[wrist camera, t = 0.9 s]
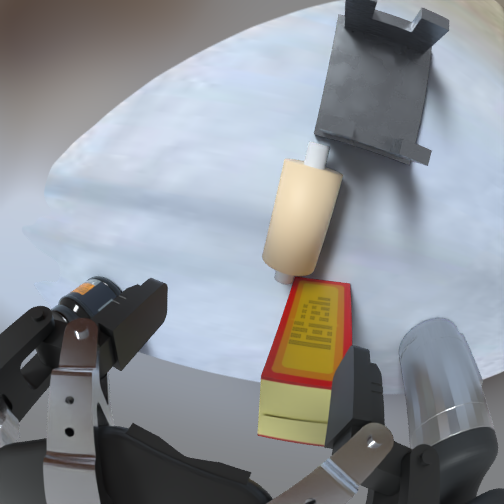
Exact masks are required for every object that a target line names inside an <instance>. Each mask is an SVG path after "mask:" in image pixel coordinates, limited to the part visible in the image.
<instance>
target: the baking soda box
mask: <svg viewBox="0 0 504 504" xmlns="http://www.w3.org/2000/svg"><path fill="white" fill-rule="evenodd" d="M351 345H352V313H351V291H350V284H349V283H341V282H333V281H325V280H318V279H310V278H303V277H295V278H294V281H293V285H292V288H291V291H290V294H289V297H288V300H287V303H286V306H285V309H284V312H283V315H282V318H281V321H280V324H279V327H278V330H277V333H276V336H275V339H274V341H273V344H272V347H271V350H270V353H269V356H268V358H267V361H266V364H265V367H264V369H263V372H262V375H261V388H260V404H259V421H258V436H262V437H267V438H272V439H277V440H282V441H288V442H294V443H300V444H307V445H315V446H324V445H325V438H326V431H327V424H328V416H329V408H330V399H331V389H332V380H333V377H334V374H335V371H336V369H337V368H338V366H339V364H340V363H341V361H342V359H343V358H344V356H345V354H346V352H347V351H348V349H349V347H350V346H351Z"/></svg>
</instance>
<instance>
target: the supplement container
mask: <svg viewBox="0 0 504 504" xmlns="http://www.w3.org/2000/svg"><path fill="white" fill-rule="evenodd" d="M120 294H121V291H120V290H119V289H118V288H117V287H116V286H115V285H114V284H113V283H112V282H111V281H109V280H108V279H106V278H104V277H100V276H95V277H92V278H90V279H88V280H87V281H86V282H85V283H83V284H82V285H80V286H79V287H78V288H76V289H75V290H73V291H72V292H70V293H69V294H68V295H66V296H63V297H62V298H61V299H60V301H59V303H58V305H57V306H55V307H54V308H52V309H51V312H52V314H53V318H54V319H55V320H59V321H62V322H66V323H69V322H71V321H72V320H75V319H78V318H87V319H91V318H92V317H93V316H94V315H96V314H97V313H98V312H99V311H100V310H102V309H103V308H104V307H105V306H106V305H107V304H109V303H110V302H111V301H113V299H115V298H116V297H117V296H119V295H120Z"/></svg>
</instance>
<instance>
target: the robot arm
mask: <svg viewBox="0 0 504 504" xmlns="http://www.w3.org/2000/svg"><path fill="white" fill-rule="evenodd" d="M167 291H168V287H167V284H165V283H163V282H160V281H158V280H155V279H153V278H150V279H148V280H147V281H146V282H144V283H143V284H142V285H141V286H140V285H138V284H137V285H135V286H132V287H129V288H127V289H126V290H124V291H123V292H122V293H121V294H120V295H119V296H117V297H116V298H115V299H113V301H111V302H110V303H109V304H107V305H106V306H105V307H104V308H103V309H102V310H100V311H99V312H98V313H97V314H96V315H94V316H93V317H92V318H91V319H87V318H78V319H75V320H72V321H71V322H69V323H66V322H62V321H59V320H55V319H54V318H53V314H52V312H51V310H50V309H49V308H47V307H45V306H37V307H33V308H31V309H30V310H28V311H27V312H26V313H25V314H23V315H22V316H21V317H20V318H19V319H17V320H16V321H15V322H14V323H13V324H12V325H10V326H9V327H8V328H7V329H6V330H5V331H4V332H2V333H1V334H0V504H346V503H347V502H348V501H349V500H350V499H351V498H352V497H353V496H354V495H355V494H356V493H357V491H358V489H357V488H358V487H359V485H362V486H364V487H366V488H368V494H367V501H366V504H504V489H500V488H498V489H493V490H490V491H488V492H485V493H483V494H481V495H479V496H477V497H476V495H477V491H478V488H479V486H480V483H481V481H482V479H483V477H484V476H485V474H486V472H487V471H488V470H489V468H490V467H491V465H492V463H493V462H494V460H495V458H496V456H497V453H498V443H497V438H496V435H495V431H494V426H493V423H492V419H491V415H490V412H489V409H488V406H487V403H486V399H485V396H484V393H483V390H482V387H481V386H482V384H483V380H482V377H481V374H480V372H479V369H478V367H477V364H476V362H475V359H474V357H473V355H472V352H471V350H470V348H469V345H468V343H467V341H466V339H465V337H464V335H463V334H461V333H459V331H458V328H457V326H456V325H455V324H454V323H453V322H452V321H450V320H448V319H444V318H435V319H430V320H427V321H424V322H422V323H420V324H418V325H417V326H415V327H414V328H412V329H411V330H410V331H409V332H408V333H407V334H406V336H405V337H404V338H403V340H402V342H401V344H400V348H399V356H400V362H401V368H402V375H403V382H404V389H405V396H406V405H407V414H408V425H409V437H410V448H408V447H406V446H403V445H401V444H399V443H397V442H395V441H394V439H393V435H392V433H391V431H390V430H389V429H388V428H387V427H386V426H385V424H384V402H383V395H382V393H383V387H382V376H381V372H380V370H379V369H378V367H377V365H376V364H374V363H370V354H369V350H368V349H365V348H361V347H357V346H353V345H351V346H350V347H349V349H348V351H347V352H346V354H345V356H344V358H343V359H342V361H341V363H340V364H339V366H338V368H337V369H336V371H335V374H334V377H333V380H332V389H331V399H330V408H329V416H328V424H327V431H326V438H325V445H324V447H325V448H331V449H333V452H332V456H331V457H330V458H328V459H327V460H326V461H325V462H324V463H322V464H321V465H320V466H319V467H317V468H316V469H315V470H314V471H312V472H311V473H310V474H309V475H307V476H306V477H304V478H303V479H302V480H300V481H299V482H298V483H296V484H295V485H293V486H292V487H291V488H289V489H288V490H287V491H285V492H283V493H282V494H280V495H279V496H277V497H276V498H274V499H272V497H271V496H270V495H269V494H268V492H267V491H266V490H264V489H263V488H262V487H261V486H260V485H258V484H257V483H256V482H254V481H252V480H250V479H249V477H250V474H251V472H248V471H245V470H241V469H238V468H235V467H232V466H229V465H226V464H223V463H220V462H212V461H206V460H200V459H194V458H189V457H186V456H184V455H182V454H181V453H179V452H178V451H177V450H175V449H174V448H173V447H172V446H170V445H169V444H168V443H166V442H165V441H164V440H163V439H161V438H160V437H159V436H156V435H155V434H152V433H151V432H149V431H147V430H145V429H143V428H141V427H139V426H137V425H136V424H134V423H133V424H132V425H131V427H130V428H124V427H119V426H115V425H114V421H113V416H112V412H111V402H110V384H109V370H110V369H111V368H112V367H115V368H116V369H118V370H120V371H122V370H123V369H124V367H125V366H126V365H127V364H128V363H129V362H130V360H131V359H132V358H133V357H134V356H135V355H136V353H137V352H138V351H139V350H140V349H141V348H142V347H143V345H144V344H145V343H146V342H147V341H148V340H149V339H150V337H151V336H152V335H153V334H154V333H155V332H156V331H157V329H158V328H159V327H160V326H161V325H162V324H163V322H164V320H165V318H166V315H167ZM34 349H36V351H37V354H36V355H35V356H34V357H33V358H32V359H31V360H30V361H29V362H28V363H27V364H26V365H25V366H24V367H23V368H22V369H21V370H20V366H21V363H22V362H23V360H24V359H25V358H26V357H27V356H28V355H29V354H30V353H31V352H32V351H33V350H34ZM49 386H50V389H49V400H48V415H47V438H45V439H39V440H32V441H25V442H17V443H15V441H17V440H18V439H19V438H20V432H19V422H20V421H21V420H22V418H23V417H24V416H25V414H26V413H27V412H28V411H29V410H30V409H31V407H32V406H33V405H34V404H35V403H36V401H37V400H38V399H39V398H40V397H41V395H42V394H43V393H44V392H45V391H46V390H47V388H48V387H49Z"/></svg>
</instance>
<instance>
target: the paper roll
mask: <svg viewBox="0 0 504 504" xmlns="http://www.w3.org/2000/svg"><path fill="white" fill-rule="evenodd" d="M329 150H330V147H329V146H325V145H322V144H318V143H314V142H310V141H309V143H308V147H307V152H306V156H305V160H304V161H300V160H295V159H284V164H283V168H282V173H281V177H280V181H279V186H278V190H277V195H276V199H275V203H274V208H273V212H272V216H271V221H270V225H269V229H268V233H267V238H266V242H265V246H264V250H263V255H262V258H263V260H264V262H265V263H266V264H267V265H268V266H269V267H271V268H273V269H274V270H276V273H275V280H276V281H277V282H279V283H282V284H291V283H292V282H293V279H294V276H306V275H309V274H311V273H313V272H314V270H315V267H316V264H317V261H318V258H319V255H320V252H321V248H322V245H323V242H324V239H325V236H326V233H327V230H328V226H329V223H330V220H331V216H332V213H333V210H334V206H335V203H336V199H337V196H338V192H339V189H340V185H341V182H342V178H343V174H341V173H339V172H337V171H335V170H332V169H329V168H326V167H325V166H326V162H327V158H328V154H329Z"/></svg>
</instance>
